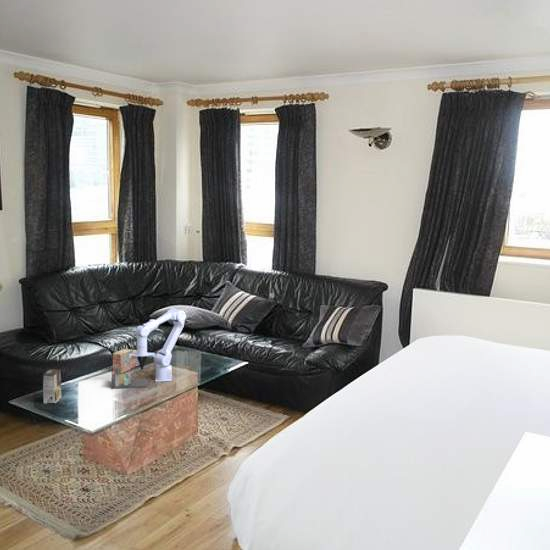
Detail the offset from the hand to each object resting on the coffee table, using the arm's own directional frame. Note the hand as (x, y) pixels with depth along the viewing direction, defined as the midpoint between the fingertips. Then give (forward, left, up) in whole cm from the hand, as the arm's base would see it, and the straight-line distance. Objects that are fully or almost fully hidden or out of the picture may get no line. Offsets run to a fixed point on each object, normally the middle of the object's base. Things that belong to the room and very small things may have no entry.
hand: (141, 368), depth 347 cm
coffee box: (+47, +21, -10) cm, 52 cm away
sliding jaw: (+8, 0, -8) cm, 12 cm away
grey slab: (+7, 0, -9) cm, 12 cm away
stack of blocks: (+9, -32, -10) cm, 35 cm away
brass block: (+11, 0, -8) cm, 14 cm away
